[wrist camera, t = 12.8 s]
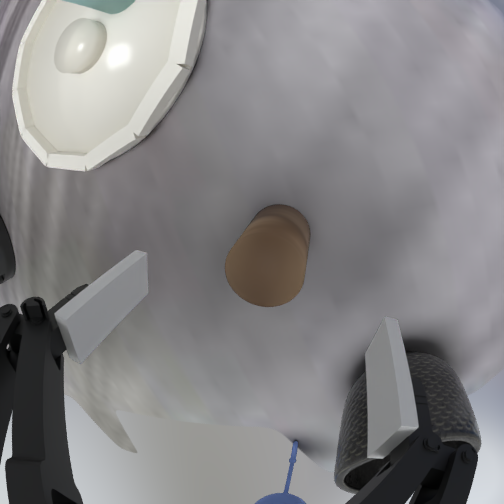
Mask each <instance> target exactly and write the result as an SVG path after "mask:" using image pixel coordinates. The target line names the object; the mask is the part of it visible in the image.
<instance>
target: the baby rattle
mask: <svg viewBox="0 0 504 504" xmlns="http://www.w3.org/2000/svg"><path fill="white" fill-rule="evenodd" d="M297 447H298V442H297V441H294V443H293V447H292V454H291V458H290V459H289V462H290V467H289V472H288V476H287V481H286V485H285V490H284V492H283V493H275V494H271V495H268V496H265V497H263V498H261V499H260V500H258V501H257V502H256V503H255V504H306V503H305V502H304V501H303V500H302V499H301V498H299V497H297V496H295V495H291V494H289V493H288V490H289V485H290V480H291V476H292V471H293V466H294V463H295V462H296V454H297Z"/></svg>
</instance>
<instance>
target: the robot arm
mask: <svg viewBox="0 0 504 504" xmlns="http://www.w3.org/2000/svg"><path fill="white" fill-rule="evenodd" d="M14 272H15V260H14V254H13V249H12V245H11V242H10V239H9V236H8V233H7V230H6V228H5V225H4V223H3V221H2V219H1V217H0V284H1V283H4V282H6V281H7V280H9V279H10V278H12V277H13V275H14ZM148 293H149V291H148V268H147V253H145V252H142V251H139V250H135V251H134V252H132V253H131V254H130V255H128V256H127V257H126V258H124V259H123V260H122V261H120V262H119V263H118V264H116V265H115V266H114V267H112V268H111V269H110V270H108V271H107V272H106V273H104V274H103V275H102V276H100V277H99V278H98V279H97V280H95V281H94V282H93V283H91V284H90V285H88V284H85V285H83V286H80V287H78V288H76V289H75V290H74V291H72V292H71V294H69V295H67V296H66V297H65V298H64V299H62V300H61V301H60V302H59V303H57V304H56V305H55V306H54V307H52V308H51V309H50V310H49V311H47V308H46V305H45V301H44V300H43V299H42V298H40V297H31V298H28V299H26V300H25V301H24V302H23V303H22V304H21V306H20V307H21V310H22V313H23V315H22V314H19V312H18V309H17V307H16V306H15V305H13V304H7V305H4V306H2V307H1V308H0V463H1V457H2V452H3V447H4V442H5V437H6V433H7V429H8V425H9V421H10V417H11V414H12V410H13V415H12V457H11V458H9V459H7V461H6V464H5V471H6V482H7V491H8V499H9V504H83V502H82V498H81V495H80V493H79V491H78V489H77V487H76V485H75V483H74V479H73V474H72V469H71V463H70V456H69V449H68V441H67V432H66V422H65V407H64V357H63V354H62V353H63V352H64V351H65V350H67V352H68V355H69V358H71V359H72V360H74V361H76V362H77V363H79V364H82V362H83V361H84V360H85V359H86V358H87V357H88V356H89V355H90V354H91V353H92V352H93V351H94V349H95V348H96V347H97V346H98V345H99V344H100V343H101V342H102V341H103V340H104V339H105V338H106V337H107V336H108V335H109V333H110V332H111V331H112V330H113V329H114V328H115V327H116V326H117V325H118V324H119V323H120V322H121V321H122V320H123V319H124V318H125V317H126V316H127V315H128V314H129V313H130V312H131V311H132V310H133V309H134V308H135V307H136V306H137V305H138V303H139V302H140V301H141V300H142V299H143V298H144V297H145V296H146V295H147V294H148ZM8 344H9V348H8V349H6V348H7V345H8ZM365 362H366V379H367V406H368V449H367V458H380V459H383V458H384V457H386V456H387V455H388V454H389V453H390V461H389V462H387V463H386V464H385V465H383V466H382V467H381V468H379V469H378V470H379V472H378V473H377V474H376V475H375V476H374V477H373V478H372V479H371V480H370V481H369V482H368V483H367V484H366V485H365V486H364V487H363V488H362V489H361V490H360V491H359V492H358V493H357V494H356V495H354V496H353V497H352V498H351V499H350V500H349V501H348V502H347V503H346V504H405V503H406V501H407V500H408V499H409V498H410V497H411V495H412V494H413V493H414V494H413V496H412V498H411V500H410V502H409V504H466V502H467V499H468V496H469V493H470V489H471V486H472V482H473V478H474V474H475V470H476V466H477V461H478V455H477V451H476V450H475V448H474V447H473V446H471V445H470V444H462V445H461V446H460V447H459V448H457V449H455V448H452V447H449V446H446V445H443V443H442V440H441V438H440V437H439V436H438V435H437V434H436V433H434V432H433V430H432V424H431V418H430V412H429V407H428V405H427V404H428V402H427V398H426V392H425V387H424V385H423V384H422V382H421V381H420V379H419V378H412V377H411V376H410V371H409V366H408V361H407V357H406V352H405V348H404V344H403V340H402V336H401V332H400V328H399V324H398V320H397V319H394V318H390V317H386V316H384V318H383V320H382V322H381V324H380V326H379V328H378V330H377V332H376V334H375V336H374V338H373V340H372V342H371V344H370V345H369V347H368V349H367V351H366V353H365ZM414 491H415V492H414Z"/></svg>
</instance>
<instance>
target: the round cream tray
mask: <svg viewBox="0 0 504 504" xmlns="http://www.w3.org/2000/svg"><path fill="white" fill-rule="evenodd" d="M206 1H207V0H135V2H134V3H133V4H132V5H130V6H129V7H128V8H127V9H125V10H124V11H122V12H120V13H117V14H108V13H105V12H102V11H99V10H95V9H92V8H89V7H85V6H82V5H78V4H74V3H70V2H66V1H62V0H42V1H41V3H40V5H39V7H38V8H37V10H36V12H35V14H34V16H33V18H32V19H31V21H30V23H29V25H28V27H27V29H26V31H25V34H24V36H23V38H22V40H21V43H22V44H20V46H19V50H18V55H17V61H16V67H15V73H14V80H13V88H12V91H14V92H13V93H12V96H13V102H14V108H15V113H16V118H17V122H18V127H19V131H20V135H22V139H23V140H24V141H25V143H26V144H27V145H28V146H29V147H30V149H31V150H32V151H33V152H34V153H35V154H36V156H37V157H38V158H39V159H40V160H41V161H42V163H43V164H44V165H45V166H47V167H51V168H60V169H68V170H77V171H84V172H86V171H89V170H92V169H96V168H98V167H100V166H101V165H103V164H104V163H106V162H107V161H109V160H111V159H114V158H116V157H118V156H119V155H121V154H123V153H125V152H127V151H128V150H130V149H131V148H132V147H134V146H135V145H137V144H138V143H139V142H140V141H141V140H142V139H144V138H146V136H147V135H149V133H150V132H151V131H152V130H153V129H154V128H155V127H156V126H157V125H158V124H159V122H160V121H161V120H162V119H163V118H164V116H165V115H166V114H167V112H168V111H169V110H170V108H171V107H172V106H173V104H174V103H175V101H176V100H177V98H178V96H179V95H180V93H181V92H182V90H183V88H184V87H185V85H186V83H187V81H188V79H189V77H190V75H191V73H192V71H193V68H194V66H195V63H196V60H197V58H198V55H199V53H200V49H201V45H202V42H203V38H204V34H205V27H206V19H207V2H206Z"/></svg>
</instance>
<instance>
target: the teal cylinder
mask: <svg viewBox="0 0 504 504" xmlns="http://www.w3.org/2000/svg"><path fill="white" fill-rule="evenodd" d="M62 1H66V2H70V3H74V4H78V5H82V6H85V7H89V8H92V9H95V10H99V11H102V12H105V13H108V14H117V13H120V12H122V11H124V10H125V9H127V8H128V7H129V6H130V5H132V4H133V3H134V2H135V0H62Z"/></svg>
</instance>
